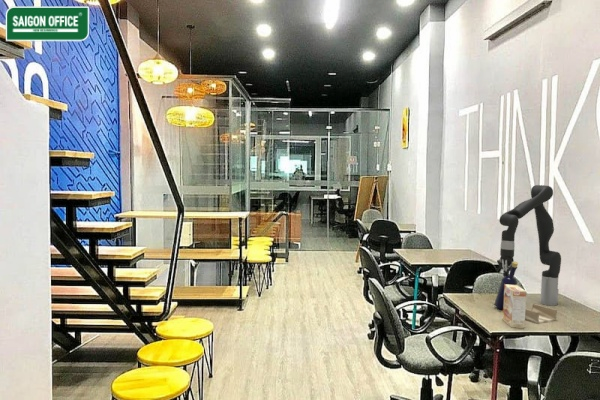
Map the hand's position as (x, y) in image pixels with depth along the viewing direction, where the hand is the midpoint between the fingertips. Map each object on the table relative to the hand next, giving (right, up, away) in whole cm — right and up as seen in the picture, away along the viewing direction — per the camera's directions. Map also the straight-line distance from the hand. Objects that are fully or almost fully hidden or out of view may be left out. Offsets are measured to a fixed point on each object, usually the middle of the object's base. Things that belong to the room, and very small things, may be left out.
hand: (505, 277), depth 296 cm
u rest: (+9, -20, -18) cm, 28 cm away
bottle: (-1, -17, +2) cm, 18 cm away
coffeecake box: (-8, -20, -29) cm, 36 cm away
